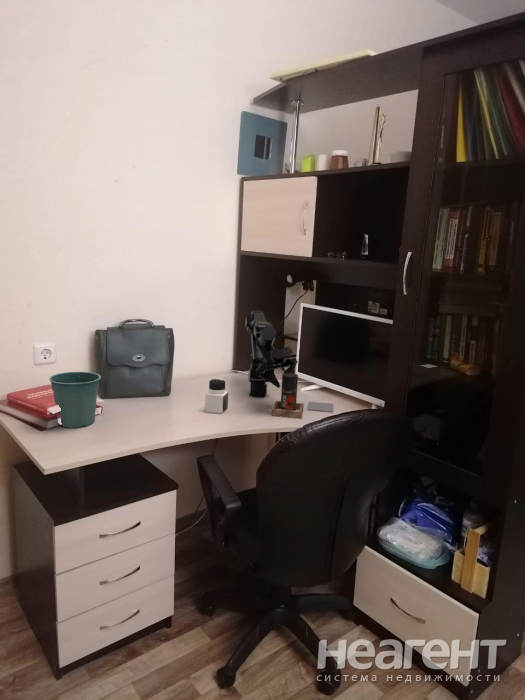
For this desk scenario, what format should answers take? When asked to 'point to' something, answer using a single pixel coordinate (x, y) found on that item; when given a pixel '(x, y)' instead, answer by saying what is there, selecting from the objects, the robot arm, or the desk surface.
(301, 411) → the walnut collar
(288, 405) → the deodorant
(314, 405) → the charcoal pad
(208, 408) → the medicine bottle
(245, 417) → the desk surface
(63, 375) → the flower pot
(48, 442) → the desk surface
